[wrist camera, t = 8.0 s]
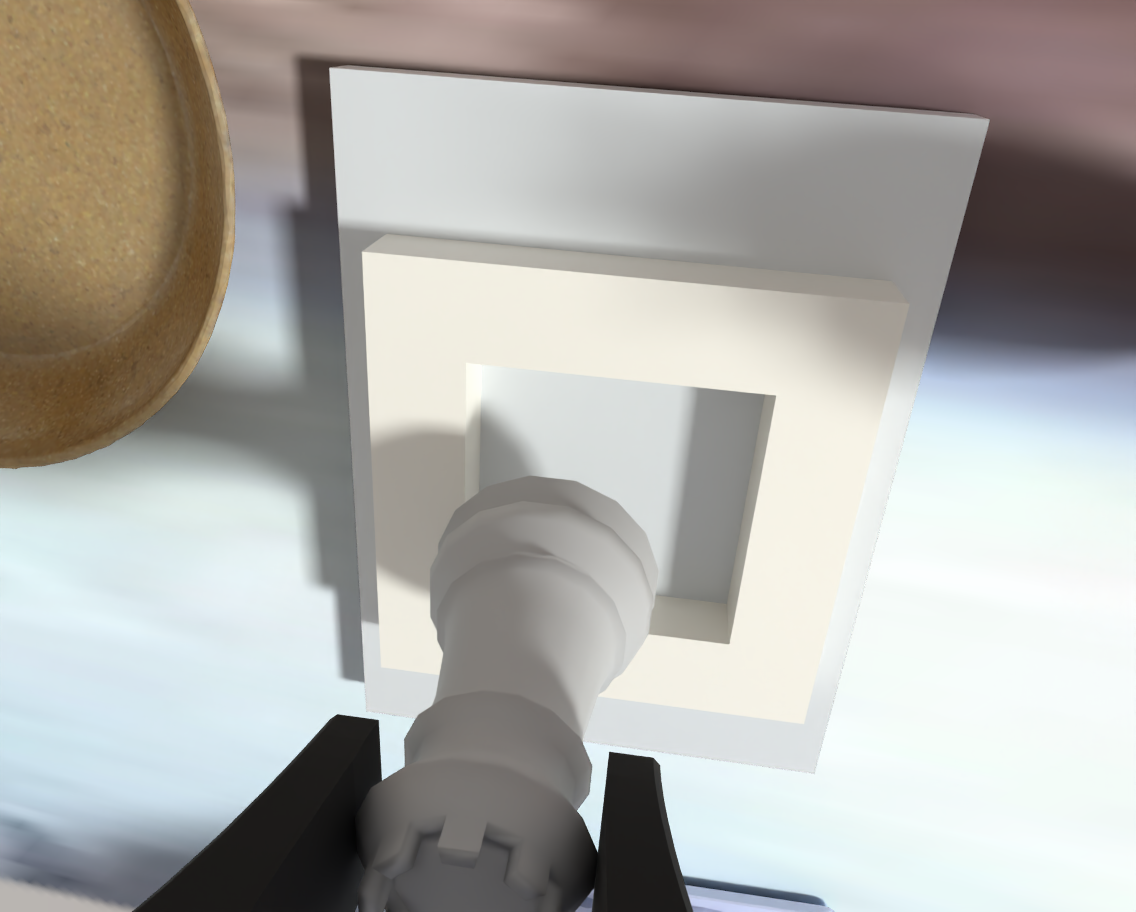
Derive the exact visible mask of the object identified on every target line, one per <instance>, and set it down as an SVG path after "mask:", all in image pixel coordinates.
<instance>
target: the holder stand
mask: <svg viewBox="0 0 1136 912" xmlns="http://www.w3.org/2000/svg"><path fill="white" fill-rule="evenodd" d="M329 71H330V89H331V106H332V123H333V141H334V158H335V176H336V193H337V210H338V228H339V245H340V262H341V280H342V297H343V315H344V332H345V349H346V367H347V384H348V401H349V419H350V436H351V454H352V471H353V488H354V506H355V523H356V541H357V558H358V575H359V593H360V610H361V627H362V645H363V662H364V680H365V697H366V711H367V712H374V713H381V714H388V715H396V716H403V717H410V718H416V717H417V716H418V714H420V713H422V712H423V711H425V710H426V709H428V708H429V707H431V706H432V704H433V702H434V699H435V696H436V691H437V686H438V680H439V674H440V669H441V663H442V658H443V652H442V650H441V647H440V645H439V643H438V641H437V630H436V628H435V626H434V624H433V622H432V620H431V618H430V568H431V566H432V564H433V562H434V560H435V558H436V556H437V554H438V543H439V541H440V539H441V537H442V535H443V533H444V531H445V529H446V527H447V525H448V523H449V521H450V519H451V517H452V515H453V513H454V511H455V510H456V509H457V508H459V507H460V506H461V505H463V504H464V503H465V502H467V501H468V500H469V499H471V498H472V497H473V496H475V495H476V494H477V493H479V492H480V491H481V490H483V489H484V488H485V487H487V486H489V485H493V484H497V483H501V482H505V481H509V480H513V479H517V478H521V477H525V476H529V475H530V476H539V477H548V478H556V479H565V480H573V481H577V482H579V483H581V484H583V485H585V486H587V487H589V488H591V489H593V490H595V491H597V492H599V493H601V494H603V495H605V496H607V497H609V498H611V499H613V500H615V501H617V502H618V503H619V504H620V505H621V506H622V507H623V509H624V510H625V511H626V512H627V513H628V514H629V515H630V516H631V517H632V518H633V520H634V521H635V522H636V523H637V524H638V525H639V526H640V527H641V528H642V529H643V530H644V532H645V533H646V534H647V537H648V540H649V543H650V546H651V549H652V552H653V555H654V558H655V561H656V564H657V567H658V570H659V573H658V581H657V588H656V595H655V603H654V608H653V609H652V613H651V621H650V628H649V634H648V636H647V638H646V639H645V641H644V643H643V645H642V646H641V648H640V649H639V650H638V652H637V653H636V655H635V656H634V658H633V659H632V661H631V662H630V663H629V665H628V666H627V668H626V669H625V671H624V672H623V673H622V674H621V675H619V676H618V677H616V678H614V679H613V680H612V682H611V683H610V685H609V686H608V687H607V689H606V690H605V691H603V692H602V693H600V694H598V697H597V700H596V703H595V706H594V709H593V712H592V715H591V718H590V721H589V724H588V727H587V730H586V733H585V736H584V738H583V742H590V743H597V744H604V745H611V746H618V747H626V748H633V749H640V750H647V751H654V752H662V753H669V754H676V755H683V756H690V757H698V758H705V759H712V760H719V761H726V762H733V763H741V764H748V765H755V766H762V767H769V768H777V769H784V770H791V771H798V772H805V773H813V774H814V773H815V770H816V766H817V762H818V758H819V755H820V751H821V747H822V743H823V740H824V736H825V732H826V729H827V725H828V721H829V717H830V714H831V710H832V706H833V703H834V699H835V695H836V691H837V688H838V684H839V680H840V676H841V673H842V669H843V665H844V662H845V658H846V654H847V650H848V647H849V643H850V639H851V635H852V632H853V628H854V624H855V621H856V617H857V613H858V609H859V606H860V602H861V598H862V594H863V591H864V587H865V583H866V580H867V576H868V572H869V568H870V565H871V561H872V557H873V553H874V550H875V546H876V542H877V539H878V535H879V531H880V527H881V524H882V520H883V516H884V513H885V509H886V505H887V501H888V498H889V494H890V490H891V486H892V483H893V479H894V475H895V472H896V468H897V464H898V460H899V457H900V453H901V449H902V445H903V442H904V438H905V434H906V431H907V427H908V423H909V419H910V416H911V412H912V408H913V404H914V401H915V397H916V393H917V390H918V386H919V382H920V378H921V375H922V371H923V367H924V364H925V360H926V356H927V352H928V349H929V345H930V341H931V337H932V334H933V330H934V326H935V323H936V319H937V315H938V311H939V308H940V304H941V300H942V296H943V293H944V289H945V285H946V282H947V278H948V274H949V270H950V267H951V263H952V259H953V255H954V252H955V248H956V244H957V241H958V237H959V233H960V229H961V226H962V222H963V218H964V214H965V211H966V207H967V203H968V200H969V196H970V192H971V188H972V185H973V181H974V177H975V174H976V170H977V166H978V162H979V159H980V155H981V151H982V147H983V144H984V140H985V136H986V133H987V129H988V125H989V121H990V119H987V118H984V117H981V116H978V115H975V114H968V113H955V112H942V111H929V110H917V109H904V108H891V107H878V106H865V105H852V104H840V103H827V102H814V101H801V100H788V99H776V98H763V97H750V96H737V95H724V94H711V93H699V92H686V91H673V90H660V89H647V88H635V87H622V86H609V85H596V84H583V83H570V82H558V81H545V80H532V79H519V78H506V77H494V76H481V75H468V74H455V73H442V72H430V71H417V70H404V69H391V68H378V67H365V66H353V65H345V66H338V67H331V68H329Z"/></svg>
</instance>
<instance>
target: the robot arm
mask: <svg viewBox="0 0 1136 912" xmlns="http://www.w3.org/2000/svg"><path fill="white" fill-rule="evenodd" d="M381 781H382V774H381V755H380V736H379V720H374V719H367V718H360V717H353V716H345V715H338V714H337V715H336V716H334V717H333V718H331V719H330V720H329V721H328V722H327V723H326V725H325V726H324V727H323V728H322V729H321V730H320V731H319V732H318V733H317V735H316V736H315V737H314V738H313V739H312V740H311V741H310V742H309V743H308V744H307V746H306V747H305V748H304V749H303V750H302V751H301V752H300V753H299V754H298V755H297V756H296V757H295V759H294V760H293V761H292V762H291V763H290V764H289V765H288V766H287V767H286V768H285V769H284V770H283V771H282V772H281V773H280V774H279V775H278V776H277V777H276V779H275V780H274V781H273V782H272V783H271V784H270V785H269V786H268V787H267V788H266V789H265V790H264V791H263V792H262V793H261V794H260V795H259V796H258V797H257V798H256V799H255V800H254V801H253V802H252V803H251V804H250V805H249V806H248V807H247V808H246V809H245V810H244V811H243V812H242V813H241V814H240V815H239V816H238V817H237V818H236V819H235V820H234V821H233V822H232V823H231V824H230V825H229V826H228V827H227V828H226V829H225V830H224V831H223V832H221V833H220V834H219V835H218V836H217V837H216V838H215V839H214V840H213V841H212V842H211V843H210V844H209V845H207V846H206V847H205V848H204V849H203V850H202V851H201V852H200V853H199V854H198V855H196V856H195V857H194V858H193V859H192V860H191V861H190V862H189V863H188V864H187V865H185V866H184V867H183V868H182V869H181V870H180V871H179V872H178V873H177V874H176V875H174V876H173V877H172V878H171V879H170V880H169V881H168V882H167V883H166V884H164V885H163V886H162V887H161V888H160V889H159V890H157V891H156V892H155V893H154V894H153V895H151V896H150V897H149V898H148V899H147V900H146V901H144V902H143V903H142V904H141V905H140V906H138V907H137V908H136V909H135V910H134V911H132V912H355V910H356V908H357V905H358V892H357V891H358V888H359V885H360V883H361V880H362V878H363V875H364V872H365V870H364V868H363V865H362V863H361V861H360V858H359V856H358V853H357V846H356V830H355V816H356V814H357V812H358V810H359V809H360V807H361V805H362V803H363V801H364V800H365V798H366V796H367V794H368V792H369V791H370V789H371V787H373V786H374V785H376V784H378V783H379V782H381ZM575 912H835V911H833V910H832V909H830V908H829V907H825V906H821V905H815V904H808V903H802V902H795V901H788V900H782V899H775V898H768V897H762V896H755V895H749V894H742V893H735V892H729V891H722V890H715V889H709V888H702V887H696V886H689V885H685V883H684V880H683V876H682V873H681V870H680V866H679V863H678V859H677V855H676V852H675V848H674V844H673V839H672V835H671V831H670V827H669V823H668V818H667V813H666V808H665V803H664V797H663V790H662V783H661V773H660V765H659V764H658V763H657V761H656V760H655V759H654V758H651V757H643V756H636V755H629V754H621V753H614V752H609V759H608V768H607V777H606V786H605V795H604V804H603V813H602V821H601V830H600V839H599V848H598V862H597V870H596V879H595V887H594V889H593V890H592V892H591V893H590V894H589V895H588V896H587V898H586V899H585V900H584V901H583V903H582V904H581V905H580V906H579V908H578V909H577V910H576V911H575Z"/></svg>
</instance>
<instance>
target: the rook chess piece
mask: <svg viewBox="0 0 1136 912" xmlns="http://www.w3.org/2000/svg"><path fill="white" fill-rule="evenodd" d="M658 573H659V570H658V567H657V564H656V561H655V558H654V555H653V552H652V549H651V546H650V543H649V540H648V537H647V534H646V533H645V532H644V530H643V529H642V528H641V527H640V526H639V525H638V524H637V523H636V522H635V521H634V520H633V518H632V517H631V516H630V515H629V514H628V513H627V512H626V511H625V510H624V509H623V507H622V506H621V505H620V504H619V503H618V502H617V501H615V500H613V499H611V498H609V497H607V496H605V495H603V494H601V493H599V492H597V491H595V490H593V489H591V488H589V487H587V486H585V485H583V484H581V483H579V482H577V481H573V480H565V479H556V478H548V477H539V476H530V475H529V476H525V477H521V478H517V479H513V480H509V481H505V482H501V483H497V484H493V485H489V486H487V487H485V488H484V489H483V490H481V491H480V492H479V493H477V494H476V495H475V496H473V497H472V498H471V499H469V500H468V501H467V502H465V503H464V504H463V505H461V506H460V507H459V508H457V509H456V510H455V511H454V513H453V515H452V517H451V519H450V521H449V523H448V525H447V527H446V529H445V531H444V533H443V535H442V537H441V539H440V541H439V543H438V554H437V556H436V558H435V560H434V562H433V564H432V566H431V568H430V618H431V620H432V622H433V624H434V626H435V628H436V630H437V641H438V643H439V645H440V647H441V650H442V652H443V658H442V663H441V669H440V674H439V680H438V686H437V691H436V696H435V699H434V702H433V704H432V706H431V707H429V708H428V709H426V710H425V711H423V712H422V713H420V714H418V716H417V717H416V719H415V721H414V723H413V725H412V726H411V728H410V730H409V732H408V734H407V735H406V737H405V739H404V749H405V767H404V768H402V769H400V770H399V771H397V772H395V773H394V774H392V775H391V776H389V777H387V778H386V779H384V780H383V781H381V782H379V783H378V784H376V785H374V786H373V787H371V789H370V791H369V792H368V794H367V796H366V798H365V800H364V801H363V803H362V805H361V807H360V809H359V810H358V812H357V814H356V816H355V830H356V846H357V853H358V856H359V858H360V861H361V863H362V865H363V868H364V870H365V872H364V875H363V878H362V880H361V883H360V885H359V888H358V891H357V892H358V909H359V912H383V911H384V909H385V910H386V912H575V911H576V910H577V909H578V908H579V906H580V905H581V904H582V903H583V901H584V900H585V899H586V898H587V896H588V895H589V894H590V893H591V892H592V890H593V889H594V887H595V879H596V870H597V862H598V852H597V850H596V848H595V845H594V843H593V841H592V839H591V836H590V834H589V832H588V829H587V827H586V825H585V822H584V820H583V818H582V817H581V816H580V814H579V813H578V812H577V810H578V808H579V807H580V806H581V804H582V803H583V802H584V800H585V799H586V798H587V796H588V795H589V792H590V782H591V773H592V764H591V762H590V760H589V757H588V755H587V752H586V750H585V748H584V745H583V738H584V736H585V733H586V730H587V727H588V724H589V721H590V718H591V715H592V712H593V709H594V706H595V703H596V700H597V697H598V694H600V693H602V692H603V691H605V690H606V689H607V687H608V686H609V685H610V683H611V682H612V680H613V679H614V678H616V677H618V676H619V675H621V674H622V673H623V672H624V671H625V669H626V668H627V666H628V665H629V663H630V662H631V661H632V659H633V658H634V656H635V655H636V653H637V652H638V650H639V649H640V648H641V646H642V645H643V643H644V641H645V639H646V638H647V636H648V634H649V628H650V621H651V613H652V609H653V608H654V603H655V595H656V588H657V581H658Z"/></svg>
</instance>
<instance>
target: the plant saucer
mask: <svg viewBox="0 0 1136 912" xmlns="http://www.w3.org/2000/svg"><path fill="white" fill-rule="evenodd" d="M234 242H235V182H234V169H233V158H232V151H231V144H230V137H229V131H228V126H227V120H226V114H225V110H224V106H223V102H222V99H221V94H220V90H219V86H218V83H217V79H216V76H215V72H214V69H213V65H212V62H211V59H210V56H209V53H208V50H207V47H206V44H205V40H204V38H203V35H202V32H201V30H200V27H199V24H198V22H197V19H196V17H195V14H194V12H193V9H192V7H191V5H190V2H189V0H0V468H12V469H17V468H20V467H36V466H46V465H50V464H55V463H60V462H64V461H68V460H73V459H76V458H78V457H81V456H83V455H86V454H90V453H92V452H94V451H96V450H98V449H102V448H105V447H107V446H109V445H111V444H112V443H113V442H115V441H117V440H118V439H120V438H122V437H124V436H126V435H128V434H129V433H131V432H132V431H134V430H135V429H137V428H138V427H140V426H141V425H143V424H144V422H145V421H146V420H148V419H149V418H150V417H152V416H153V415H154V414H155V413H157V412H158V411H159V410H160V409H161V408H162V407H163V406H164V405H165V404H166V403H167V402H168V401H169V400H170V399H171V398H172V397H173V396H174V395H175V394H176V393H177V392H178V390H179V389H180V387H181V386H182V385H183V383H184V382H185V381H186V379H187V378H188V377H189V376H190V374H191V373H192V371H193V370H194V368H195V366H196V365H197V363H198V361H199V359H200V357H201V356H202V354H203V352H204V350H205V348H206V346H207V344H208V341H209V339H210V337H211V335H212V332H213V330H214V327H215V324H216V321H217V318H218V315H219V312H220V310H221V307H222V303H223V300H224V296H225V293H226V289H227V285H228V280H229V274H230V268H231V263H232V257H233V251H234Z"/></svg>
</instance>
